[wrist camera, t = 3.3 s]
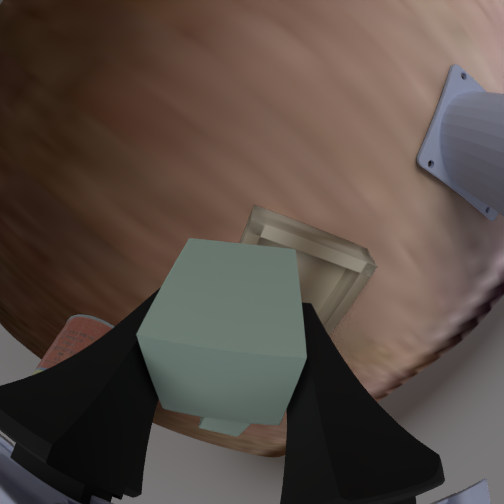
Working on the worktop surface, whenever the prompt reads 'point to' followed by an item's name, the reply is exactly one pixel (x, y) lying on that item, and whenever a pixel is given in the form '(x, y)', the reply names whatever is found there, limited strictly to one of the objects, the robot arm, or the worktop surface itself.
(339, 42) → the worktop surface
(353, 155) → the worktop surface
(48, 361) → the canned food
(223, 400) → the loose block
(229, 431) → the seated block
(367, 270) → the rack
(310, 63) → the worktop surface
